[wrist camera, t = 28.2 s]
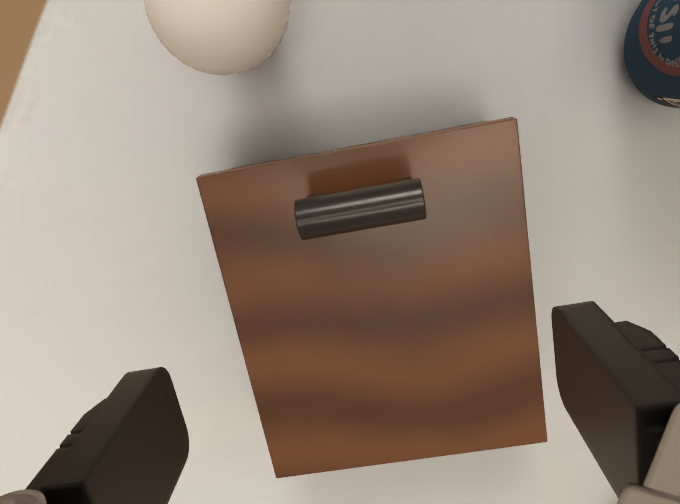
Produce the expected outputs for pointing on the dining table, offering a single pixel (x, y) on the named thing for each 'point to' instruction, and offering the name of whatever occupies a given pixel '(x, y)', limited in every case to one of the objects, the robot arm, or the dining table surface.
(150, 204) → the dining table surface
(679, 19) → the soda can
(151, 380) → the robot arm
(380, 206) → the lid
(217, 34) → the lightbulb
